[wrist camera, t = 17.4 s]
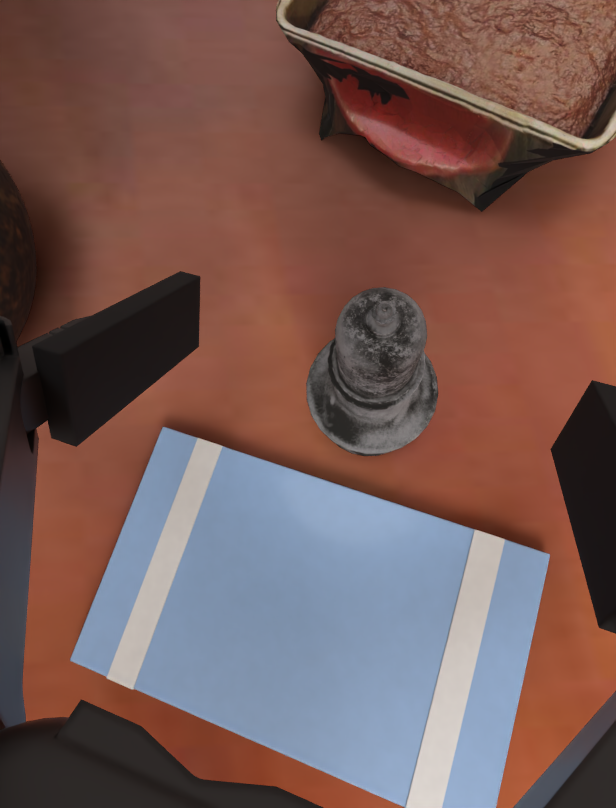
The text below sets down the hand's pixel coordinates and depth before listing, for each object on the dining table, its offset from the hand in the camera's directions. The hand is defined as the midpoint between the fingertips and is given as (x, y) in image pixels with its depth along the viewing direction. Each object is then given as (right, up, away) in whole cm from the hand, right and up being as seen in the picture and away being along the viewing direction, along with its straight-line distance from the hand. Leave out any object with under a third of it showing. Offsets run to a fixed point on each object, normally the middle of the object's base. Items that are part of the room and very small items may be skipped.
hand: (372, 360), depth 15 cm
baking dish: (+7, +17, +12) cm, 22 cm away
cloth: (-2, -11, +7) cm, 13 cm away
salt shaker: (+1, -2, +9) cm, 9 cm away
